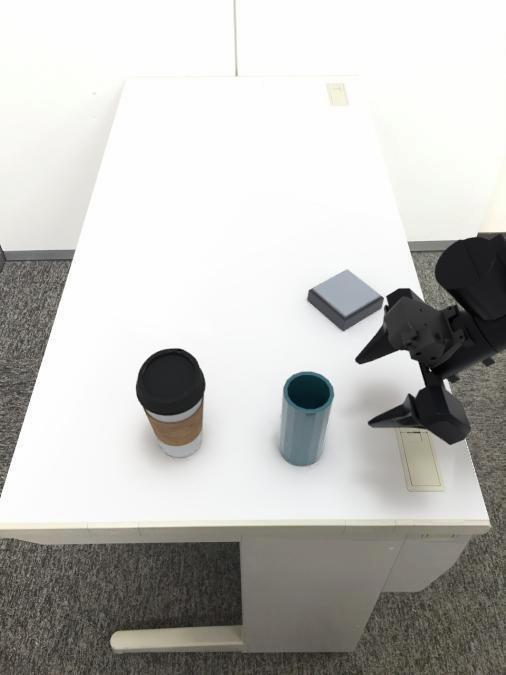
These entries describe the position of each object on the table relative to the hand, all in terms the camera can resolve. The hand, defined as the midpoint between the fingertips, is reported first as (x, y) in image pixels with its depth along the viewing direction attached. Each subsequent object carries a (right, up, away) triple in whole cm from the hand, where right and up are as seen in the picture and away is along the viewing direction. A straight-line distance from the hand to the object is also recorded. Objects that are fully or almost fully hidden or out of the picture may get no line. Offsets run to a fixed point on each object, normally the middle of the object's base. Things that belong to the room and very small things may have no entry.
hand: (363, 392), depth 64 cm
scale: (+2, +12, +27) cm, 30 cm away
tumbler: (-7, -8, +9) cm, 14 cm away
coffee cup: (-23, -8, +10) cm, 26 cm away
